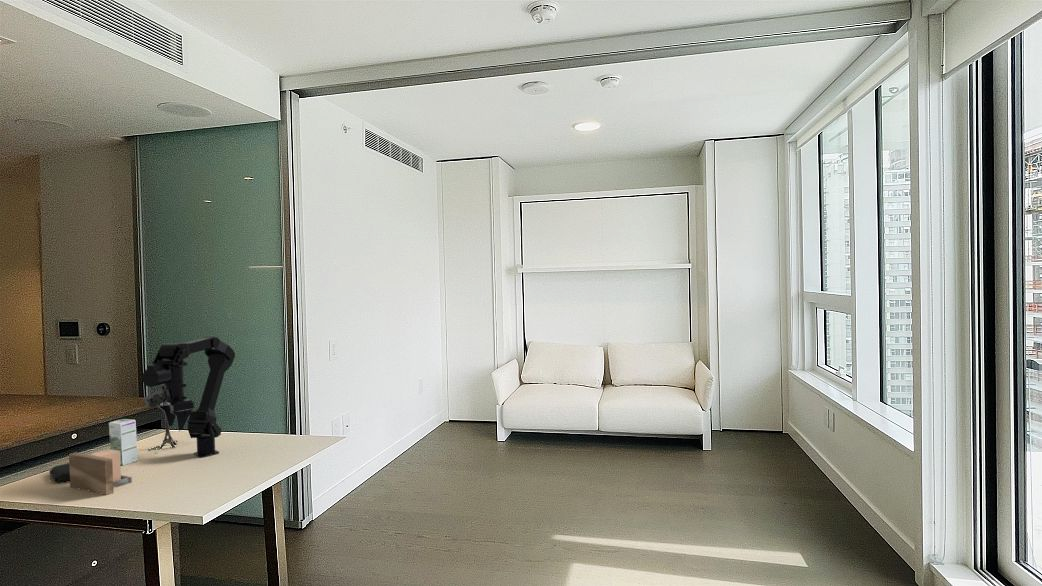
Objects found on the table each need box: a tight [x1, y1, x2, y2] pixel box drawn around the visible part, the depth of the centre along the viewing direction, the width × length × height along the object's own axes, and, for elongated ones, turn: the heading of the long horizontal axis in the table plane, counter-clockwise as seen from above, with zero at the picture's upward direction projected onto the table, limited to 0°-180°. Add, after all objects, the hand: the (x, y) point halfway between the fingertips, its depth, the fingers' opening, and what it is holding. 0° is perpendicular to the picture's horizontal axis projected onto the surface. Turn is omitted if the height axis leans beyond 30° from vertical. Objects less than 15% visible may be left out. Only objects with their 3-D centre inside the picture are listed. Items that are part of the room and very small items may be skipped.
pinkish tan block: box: [88, 448, 122, 482], centre depth 179 cm, size 6×6×10 cm
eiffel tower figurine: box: [147, 418, 178, 454], centre depth 220 cm, size 15×10×13 cm
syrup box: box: [108, 418, 139, 466], centre depth 202 cm, size 6×6×14 cm
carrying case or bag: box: [49, 463, 70, 483], centre depth 189 cm, size 11×3×15 cm
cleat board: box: [68, 451, 133, 496], centre depth 179 cm, size 10×18×10 cm, turn 65°
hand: (175, 428), depth 195 cm, fingers open, 9 cm apart
